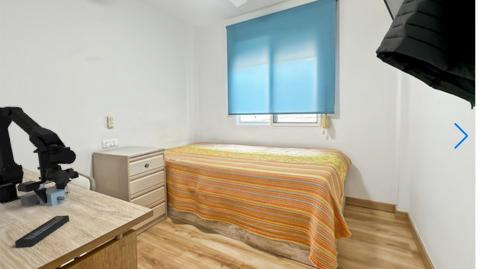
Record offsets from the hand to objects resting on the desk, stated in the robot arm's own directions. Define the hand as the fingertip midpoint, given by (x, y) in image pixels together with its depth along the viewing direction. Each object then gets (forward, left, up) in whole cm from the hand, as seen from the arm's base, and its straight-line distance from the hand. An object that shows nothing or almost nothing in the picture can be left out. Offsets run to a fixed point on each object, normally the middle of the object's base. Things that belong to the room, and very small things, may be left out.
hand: (53, 200), depth 88 cm
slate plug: (0, 0, -1) cm, 1 cm away
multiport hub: (+22, -16, -2) cm, 28 cm away
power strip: (-8, +3, -1) cm, 9 cm away
